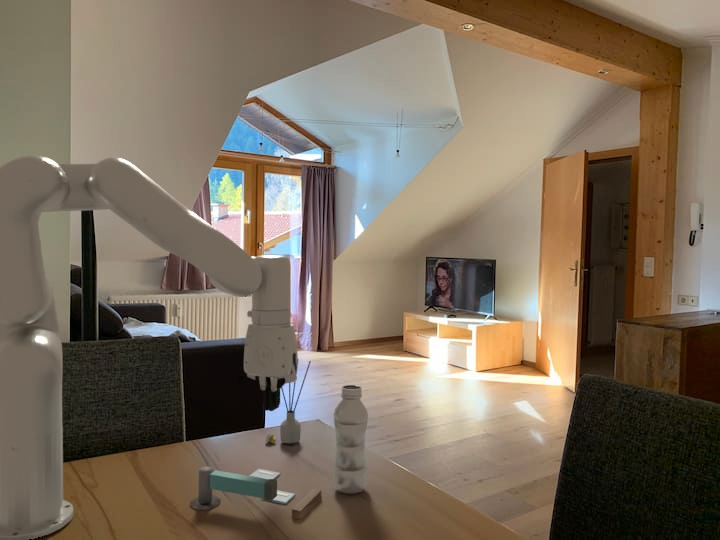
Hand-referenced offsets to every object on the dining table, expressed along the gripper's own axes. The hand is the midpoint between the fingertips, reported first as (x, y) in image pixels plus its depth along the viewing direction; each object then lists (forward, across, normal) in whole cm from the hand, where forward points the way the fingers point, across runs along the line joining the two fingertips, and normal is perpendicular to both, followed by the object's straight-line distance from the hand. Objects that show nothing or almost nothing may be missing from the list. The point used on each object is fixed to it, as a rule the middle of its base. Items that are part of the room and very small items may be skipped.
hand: (271, 408), depth 109 cm
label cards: (+14, +2, -4) cm, 15 cm away
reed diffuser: (+14, -5, +16) cm, 22 cm away
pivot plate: (+14, -5, -14) cm, 21 cm away
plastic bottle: (+14, +17, +1) cm, 22 cm away
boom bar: (+13, +1, -14) cm, 19 cm away
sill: (+14, +12, -9) cm, 20 cm away
